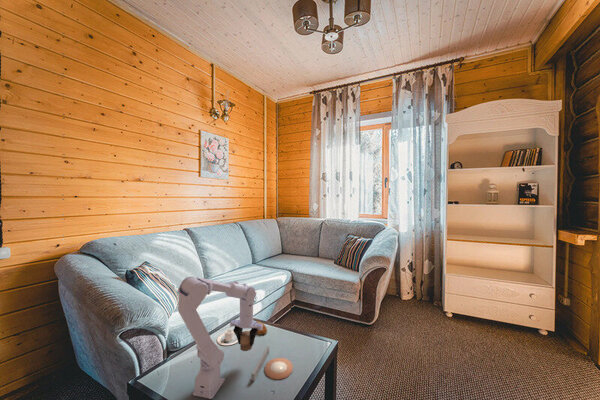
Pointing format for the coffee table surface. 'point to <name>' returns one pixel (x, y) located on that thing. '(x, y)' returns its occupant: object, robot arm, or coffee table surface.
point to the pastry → (262, 329)
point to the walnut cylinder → (245, 341)
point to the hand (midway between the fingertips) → (246, 343)
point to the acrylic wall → (260, 363)
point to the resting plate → (278, 368)
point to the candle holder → (227, 337)
